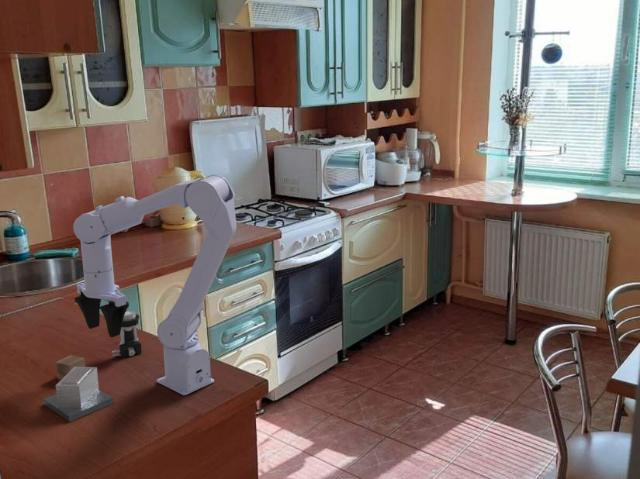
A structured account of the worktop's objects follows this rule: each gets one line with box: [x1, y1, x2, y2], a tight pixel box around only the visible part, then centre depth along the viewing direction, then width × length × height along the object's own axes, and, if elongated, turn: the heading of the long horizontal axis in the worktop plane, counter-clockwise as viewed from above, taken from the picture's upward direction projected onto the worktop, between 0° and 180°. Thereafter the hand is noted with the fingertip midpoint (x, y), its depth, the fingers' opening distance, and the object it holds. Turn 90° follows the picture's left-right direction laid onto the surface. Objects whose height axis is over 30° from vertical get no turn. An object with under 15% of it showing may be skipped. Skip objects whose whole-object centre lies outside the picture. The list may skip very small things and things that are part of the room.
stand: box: [43, 388, 114, 423], centre depth 118 cm, size 10×9×1 cm
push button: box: [111, 310, 143, 358], centre depth 139 cm, size 7×5×10 cm
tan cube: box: [55, 354, 86, 380], centre depth 129 cm, size 4×4×4 cm
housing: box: [55, 366, 100, 408], centre depth 118 cm, size 8×4×5 cm, turn 177°
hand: (104, 331), depth 127 cm, fingers open, 7 cm apart
